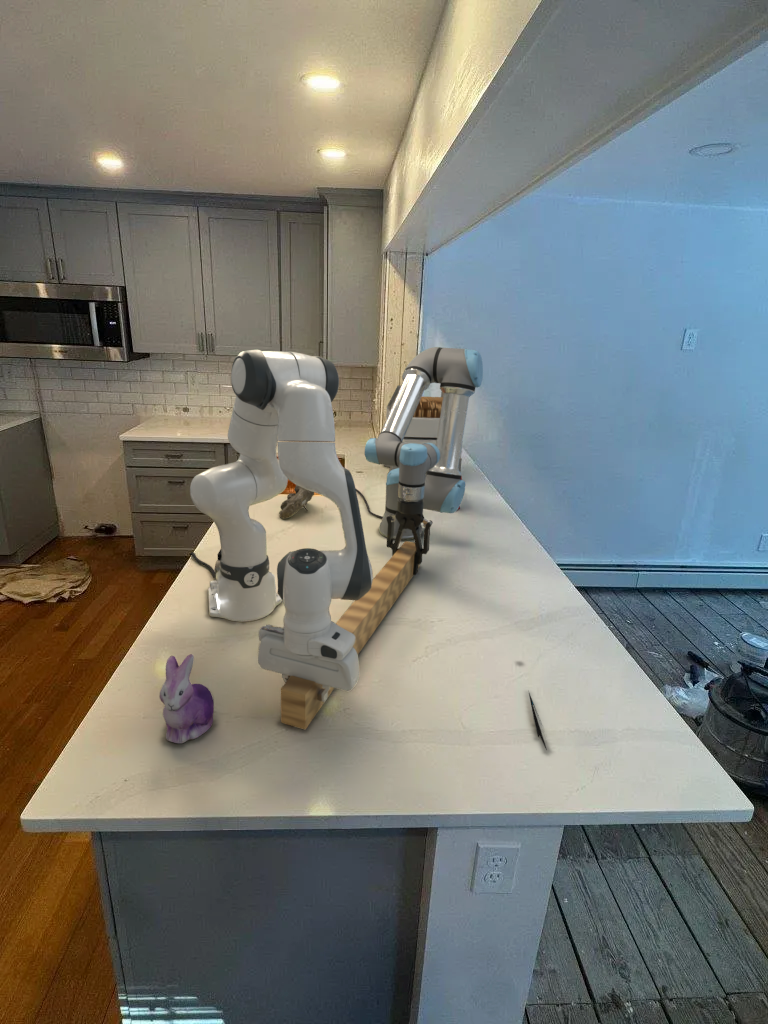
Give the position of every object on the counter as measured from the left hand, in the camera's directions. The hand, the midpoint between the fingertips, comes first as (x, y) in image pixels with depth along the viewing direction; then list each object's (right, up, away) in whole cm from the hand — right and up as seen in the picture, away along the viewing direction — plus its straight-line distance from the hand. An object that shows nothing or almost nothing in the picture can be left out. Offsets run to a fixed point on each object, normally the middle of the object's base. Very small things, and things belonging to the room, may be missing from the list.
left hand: (307, 695), depth 111 cm
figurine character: (-30, +19, +56) cm, 67 cm away
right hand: (+22, +18, +59) cm, 66 cm away
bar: (+11, +7, +30) cm, 33 cm away
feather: (+45, -3, +5) cm, 45 cm away
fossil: (-18, +36, +106) cm, 114 cm away
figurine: (-21, -4, -6) cm, 22 cm away
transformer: (+32, +55, +164) cm, 176 cm away
